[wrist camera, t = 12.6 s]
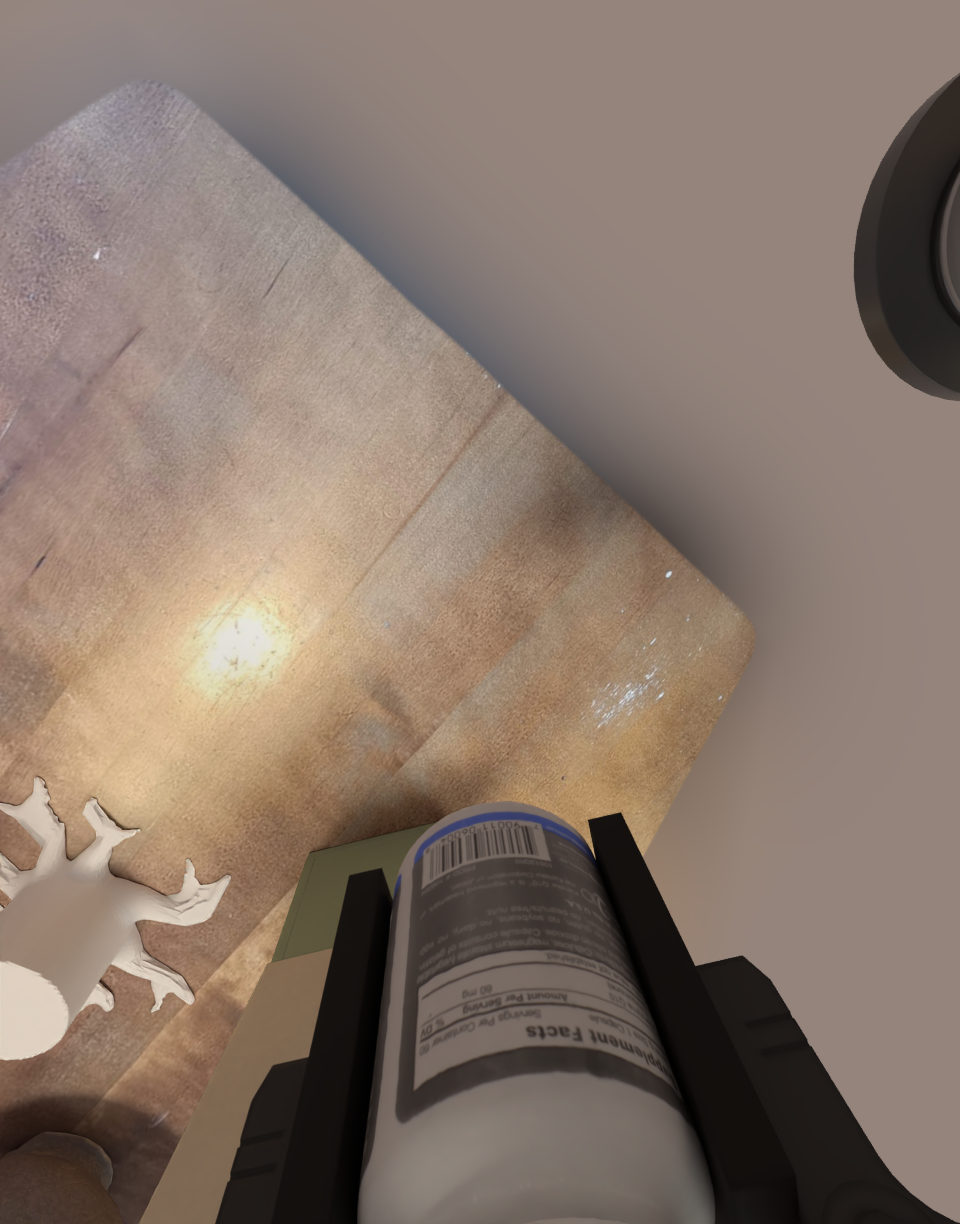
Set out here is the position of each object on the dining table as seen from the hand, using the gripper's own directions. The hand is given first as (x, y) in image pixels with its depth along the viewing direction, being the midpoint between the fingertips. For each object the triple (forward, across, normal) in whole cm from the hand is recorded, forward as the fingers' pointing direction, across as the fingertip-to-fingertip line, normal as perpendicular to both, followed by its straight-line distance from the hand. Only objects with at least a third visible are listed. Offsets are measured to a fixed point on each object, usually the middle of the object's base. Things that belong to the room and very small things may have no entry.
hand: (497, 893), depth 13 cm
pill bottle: (+1, 0, 0) cm, 1 cm away
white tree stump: (+31, -39, -21) cm, 54 cm away
